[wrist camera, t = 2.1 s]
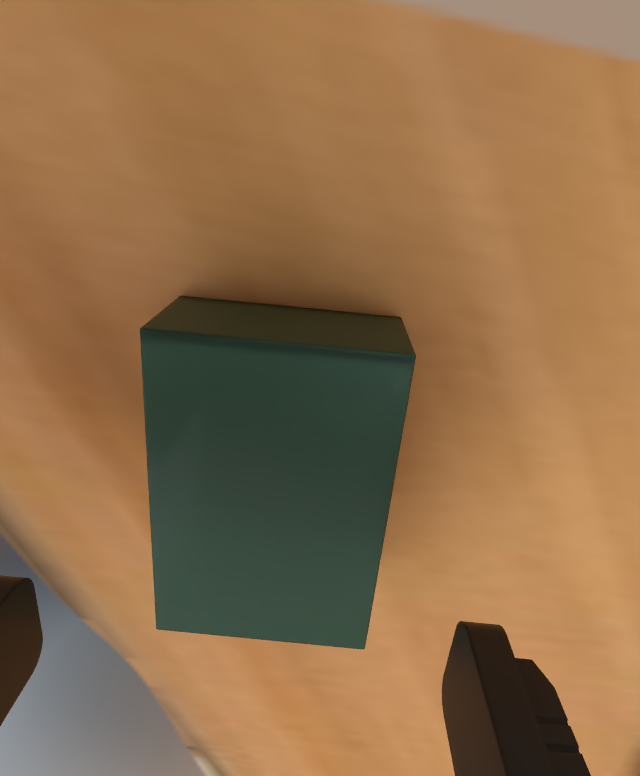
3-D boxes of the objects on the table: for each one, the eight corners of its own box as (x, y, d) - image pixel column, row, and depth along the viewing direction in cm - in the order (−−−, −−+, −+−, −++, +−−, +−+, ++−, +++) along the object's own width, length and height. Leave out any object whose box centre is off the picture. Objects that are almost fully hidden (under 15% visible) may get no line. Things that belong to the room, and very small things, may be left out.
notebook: (179, 295, 14) (139, 328, 11) (401, 316, 14) (416, 354, 11) (185, 556, 17) (155, 630, 15) (360, 573, 17) (364, 650, 15)
